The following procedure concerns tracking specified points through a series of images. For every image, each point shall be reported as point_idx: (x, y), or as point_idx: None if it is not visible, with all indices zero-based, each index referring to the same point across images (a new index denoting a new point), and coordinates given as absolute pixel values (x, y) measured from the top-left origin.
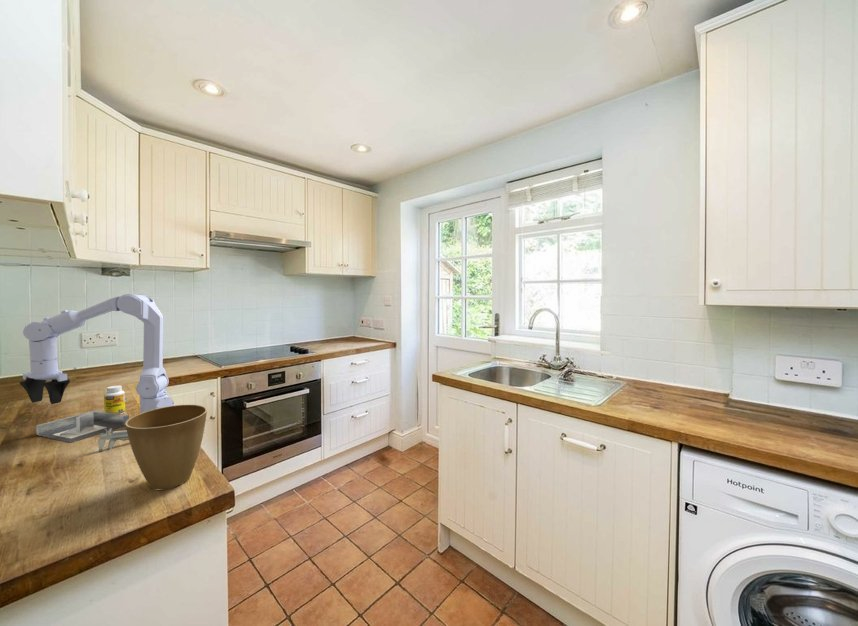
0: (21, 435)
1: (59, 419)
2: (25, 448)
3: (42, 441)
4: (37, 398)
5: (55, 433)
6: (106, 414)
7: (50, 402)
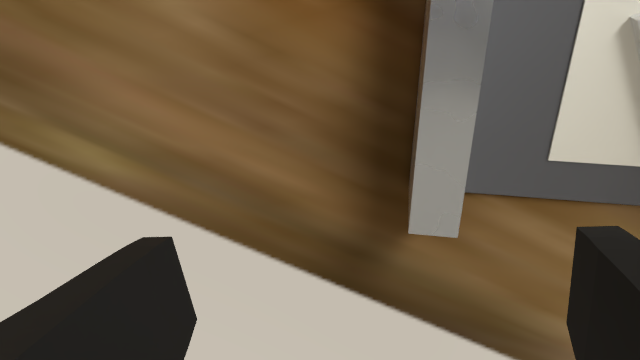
0: (285, 204)
1: (433, 65)
2: None
3: None
4: (162, 316)
5: (539, 132)
6: None
7: (575, 352)
